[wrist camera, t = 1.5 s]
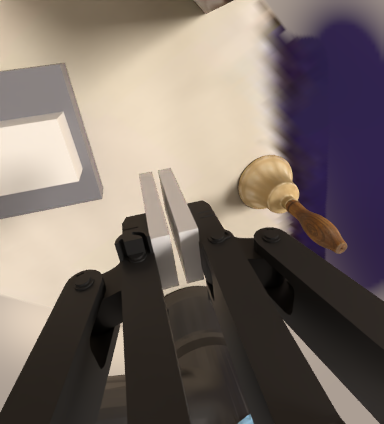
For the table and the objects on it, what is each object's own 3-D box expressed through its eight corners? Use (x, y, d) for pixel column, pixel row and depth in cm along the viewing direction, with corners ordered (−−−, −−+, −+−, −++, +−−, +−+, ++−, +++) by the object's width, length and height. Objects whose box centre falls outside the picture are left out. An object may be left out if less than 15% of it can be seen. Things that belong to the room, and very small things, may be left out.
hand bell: (287, 145, 38) (380, 197, 25) (294, 194, 42) (376, 261, 29) (231, 169, 38) (294, 234, 24) (245, 216, 42) (304, 293, 29)
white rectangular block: (82, 168, 30) (78, 181, 27) (-6, 184, 29) (-20, 199, 26) (63, 111, 27) (56, 118, 24) (-37, 126, 26) (-57, 136, 23)
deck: (103, 188, 35) (102, 198, 32) (1, 207, 33) (-8, 220, 31) (64, 62, 28) (59, 64, 25) (-68, 80, 26) (-88, 83, 24)
